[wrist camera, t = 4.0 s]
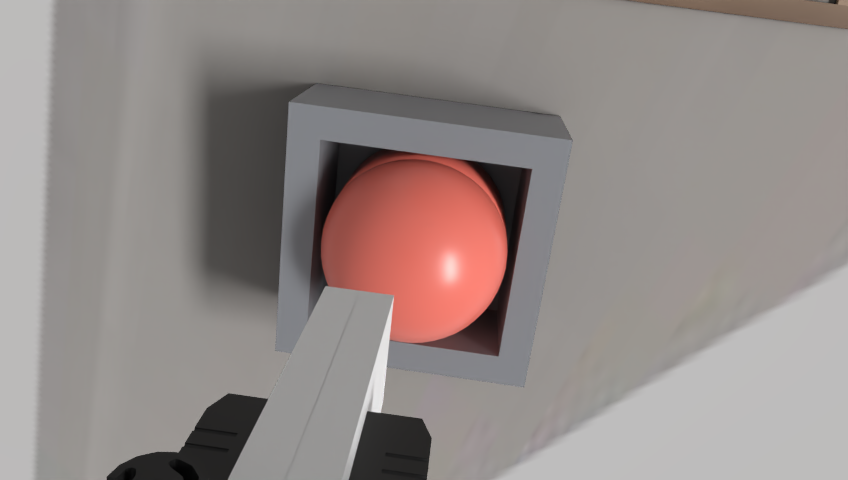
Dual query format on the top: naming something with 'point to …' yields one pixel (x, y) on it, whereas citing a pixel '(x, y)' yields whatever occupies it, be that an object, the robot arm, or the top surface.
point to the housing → (440, 136)
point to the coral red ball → (419, 240)
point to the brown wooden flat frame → (772, 9)
